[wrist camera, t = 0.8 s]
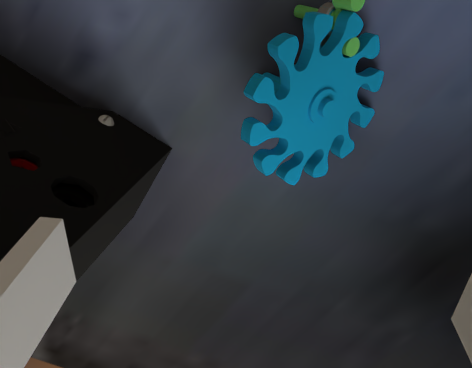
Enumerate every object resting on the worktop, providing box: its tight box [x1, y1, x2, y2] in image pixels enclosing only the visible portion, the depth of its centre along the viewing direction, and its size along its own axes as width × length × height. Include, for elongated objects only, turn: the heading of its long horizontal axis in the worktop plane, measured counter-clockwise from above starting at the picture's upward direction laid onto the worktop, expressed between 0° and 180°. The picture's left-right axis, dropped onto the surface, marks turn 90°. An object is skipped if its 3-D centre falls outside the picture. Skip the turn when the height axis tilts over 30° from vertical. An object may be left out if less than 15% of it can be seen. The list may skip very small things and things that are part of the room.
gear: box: [241, 0, 384, 185], centre depth 24 cm, size 11×6×10 cm
